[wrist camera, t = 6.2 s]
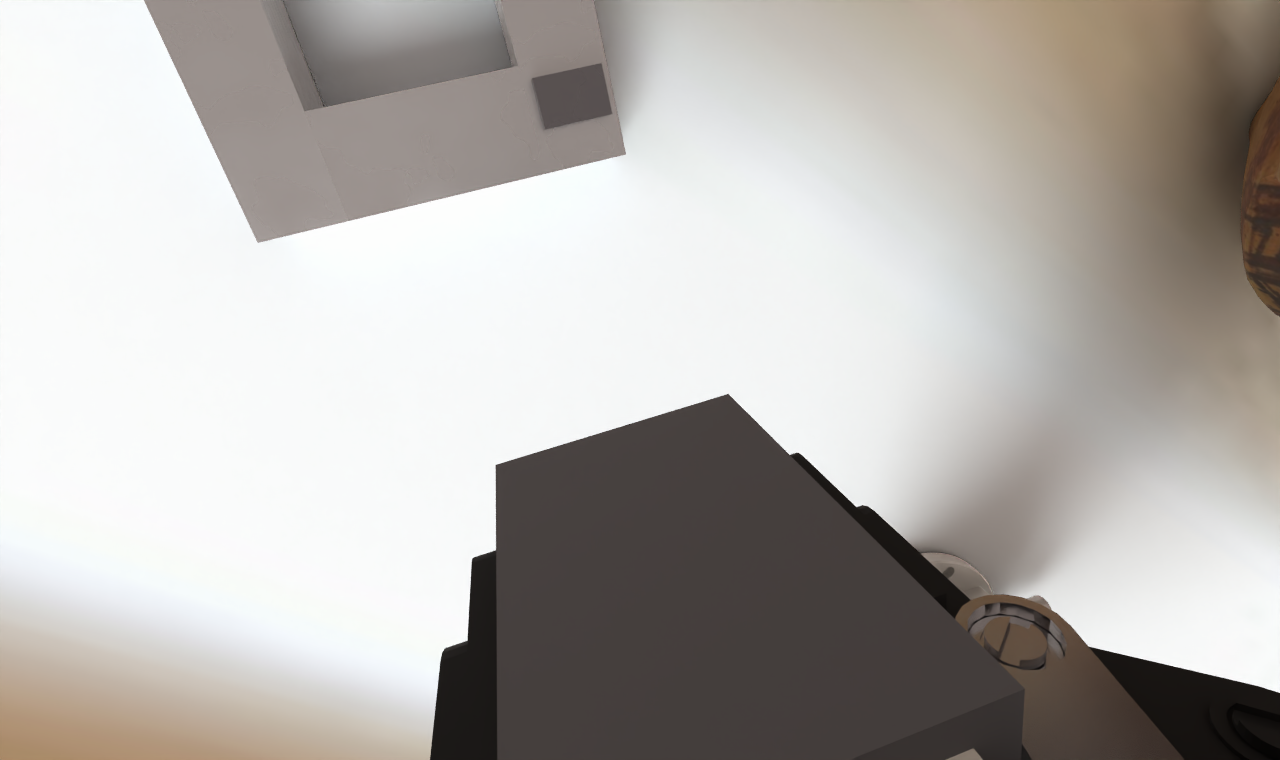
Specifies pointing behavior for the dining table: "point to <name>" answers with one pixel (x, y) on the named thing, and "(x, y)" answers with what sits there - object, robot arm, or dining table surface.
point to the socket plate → (386, 114)
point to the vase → (1263, 203)
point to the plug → (720, 612)
